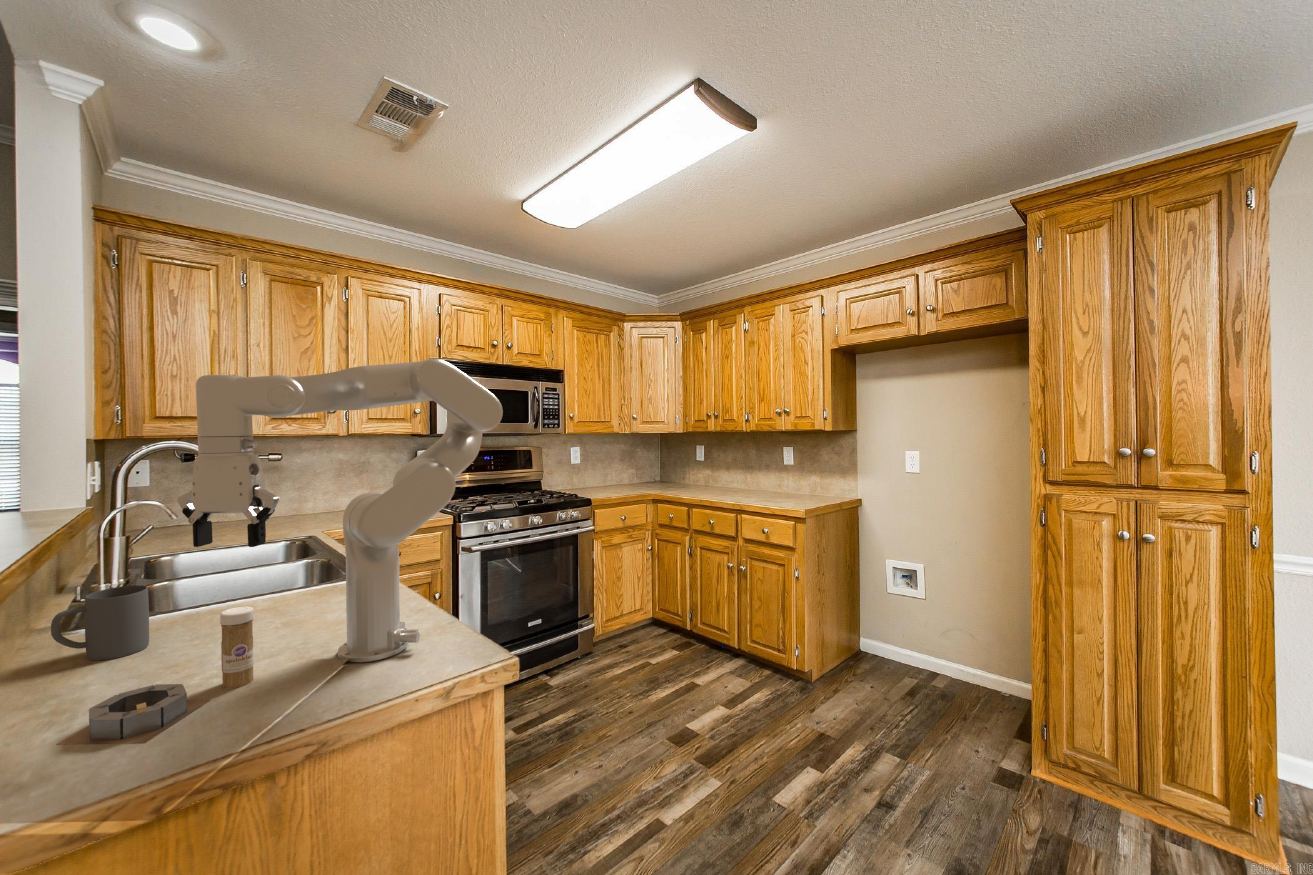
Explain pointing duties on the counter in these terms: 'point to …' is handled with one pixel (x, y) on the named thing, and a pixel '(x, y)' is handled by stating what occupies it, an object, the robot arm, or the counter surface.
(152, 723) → the ring
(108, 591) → the mug
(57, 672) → the counter surface
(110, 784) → the counter surface
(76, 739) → the walnut board
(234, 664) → the sprinkles bottle
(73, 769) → the counter surface
